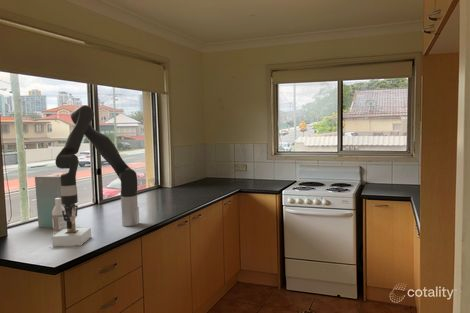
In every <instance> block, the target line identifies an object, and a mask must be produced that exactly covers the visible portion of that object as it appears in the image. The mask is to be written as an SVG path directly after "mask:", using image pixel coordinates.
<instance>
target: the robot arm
mask: <svg viewBox="0 0 470 313" xmlns="http://www.w3.org/2000/svg"><path fill="white" fill-rule="evenodd" d="M94 116H95V113H94V111H93V109H92V107H90V106H89V105H85V104H84V105H83V104H82V105H81V106H79V107H77V108H75V109H73V111H72V112H71V113H70V120H71V121H72V122H73V124H74V127H73V128H72V130H71V131H70V133H69V135H68V136H67V138H66V141H65V143H64V144H65V145H63V146H64V147H63V148H62V149H61V150H60V152H59V153H58V154H57V156H56V158H55V166H56V167H57V169H69V170H68V172H65V173H62V174H60V176H61V201H62V204H64V205H65V210H63V211H62V213H63V218H64V221H67V229H71V228H72V221H71V220H72V216H73V211H75V220H76V219H77V217H78V204H77V203H78V202H79V200H78V198H79V196H78V186H77V171H78V168H79V163H80V162H79V157H78V155H76V154H78V153H79V151H80V148H81V145H82V141H83V138H84V136H86V138H87V139H88V140H89V142H90V143H91V145H93V147H94V148H95V149H96V151H97V152H98V153H99V155H100V156H101V157H102V158H103V159H104V161H106V162H107V163H108V165H109V166H111V167H112V169H113V170H114V172H115V174H116V175H117V177H118V179H119V180H120V207H121V210H120V211H121V224H122V225H121V226H124V227H134V226H138V225H139V224H140V210H139V209H140V208H139V206H138V174H137V172H136V171H135V170H134V169H133V168H130V166H129V165H128V164H127V163H126V162H125V161H124V160H123V159H122V156H121V154H120V152H119V151H118V148H117V147H116V145H115V144H114V143H113V142H112V140H111V139H110V138H109V137H108V136H107V135H106V134H104V133H102V132H99V131H98V130H97V129H95V128H94V127H93V126H92V124H91V122H92V121H93V119H94ZM69 214H71V215H69Z"/></svg>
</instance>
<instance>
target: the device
mask: <svg viewBox="0 0 470 313" xmlns="http://www.w3.org/2000/svg"><path fill="white" fill-rule="evenodd" d="M34 184H35V185H34V186H35V196H36V199H35V200H36V211H37V222H38V223H37V224H38V227H39V228H52V229H53V222H52V211H53V209H54V207H55V198H61V175H60V174H49V175H37V176H36V175H35V176H34ZM61 205H62V206H63V207H64V208H65V205H64V204H62V201H61Z"/></svg>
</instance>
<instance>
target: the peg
mask: <svg viewBox="0 0 470 313" xmlns="http://www.w3.org/2000/svg"><path fill="white" fill-rule="evenodd" d="M69 215H71V214H69ZM71 221H72V228H71V229H67V234H71V233H76V228H77V226H76V219H75V211H73V216H72V220H71Z"/></svg>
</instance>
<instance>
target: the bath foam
mask: <svg viewBox="0 0 470 313" xmlns="http://www.w3.org/2000/svg"><path fill="white" fill-rule="evenodd" d="M63 210H65V208H64V207H63V206H62V205H61V198H55V207H54V209H53V211H52V222H53V228H52V234H53V235H52V236H54V235H55V234H57V233H58V232H60V231H61V230H63V229H67V221H64V218H63V213H62V211H63Z"/></svg>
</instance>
